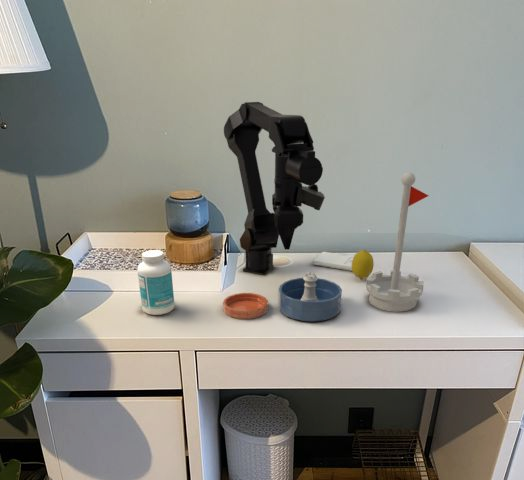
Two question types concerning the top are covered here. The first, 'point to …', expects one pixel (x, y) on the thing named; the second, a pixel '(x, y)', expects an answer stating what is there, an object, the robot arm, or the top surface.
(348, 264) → the hard drive
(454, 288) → the top surface
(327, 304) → the bowl
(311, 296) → the rook chess piece
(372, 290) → the flag stand
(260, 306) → the orange round lid
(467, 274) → the top surface
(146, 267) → the pill bottle
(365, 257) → the lemon
